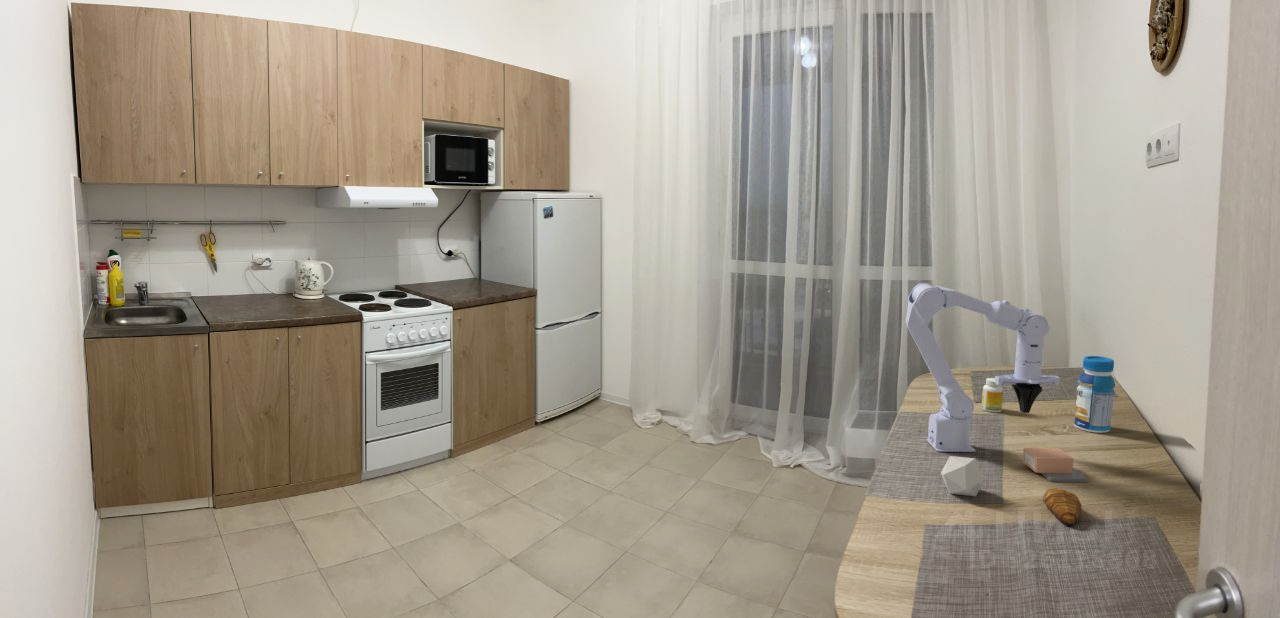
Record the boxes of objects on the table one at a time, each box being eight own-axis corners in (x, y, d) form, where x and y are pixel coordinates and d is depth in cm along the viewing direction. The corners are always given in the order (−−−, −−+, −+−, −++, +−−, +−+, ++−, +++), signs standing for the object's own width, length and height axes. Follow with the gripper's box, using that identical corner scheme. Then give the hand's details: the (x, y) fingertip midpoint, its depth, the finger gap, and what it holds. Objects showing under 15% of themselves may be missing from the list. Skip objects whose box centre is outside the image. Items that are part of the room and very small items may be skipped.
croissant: (1090, 531, 120) (1093, 507, 119) (1050, 525, 123) (1052, 502, 122) (1071, 499, 133) (1073, 478, 132) (1034, 495, 135) (1036, 473, 134)
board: (1050, 481, 141) (1050, 478, 141) (1023, 459, 153) (1024, 456, 152) (1087, 482, 140) (1088, 478, 140) (1058, 460, 152) (1058, 457, 151)
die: (971, 508, 131) (998, 471, 131) (934, 482, 135) (959, 446, 134) (965, 504, 139) (990, 469, 139) (929, 479, 142) (954, 446, 142)
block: (1037, 458, 143) (1073, 458, 142) (1023, 447, 149) (1058, 448, 148) (1036, 472, 144) (1072, 472, 143) (1022, 461, 149) (1057, 462, 149)
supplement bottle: (977, 408, 190) (979, 378, 188) (992, 406, 191) (994, 376, 189) (990, 413, 185) (992, 383, 183) (1005, 411, 186) (1008, 381, 184)
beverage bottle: (1106, 436, 165) (1114, 364, 162) (1069, 428, 171) (1075, 359, 168) (1114, 428, 171) (1121, 358, 167) (1078, 420, 177) (1084, 353, 173)
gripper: (1005, 364, 151) (1001, 416, 153) (1068, 363, 149) (1064, 417, 152) (992, 356, 158) (989, 407, 160) (1052, 356, 156) (1048, 407, 158)
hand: (1024, 411), depth 156 cm, fingers closed
